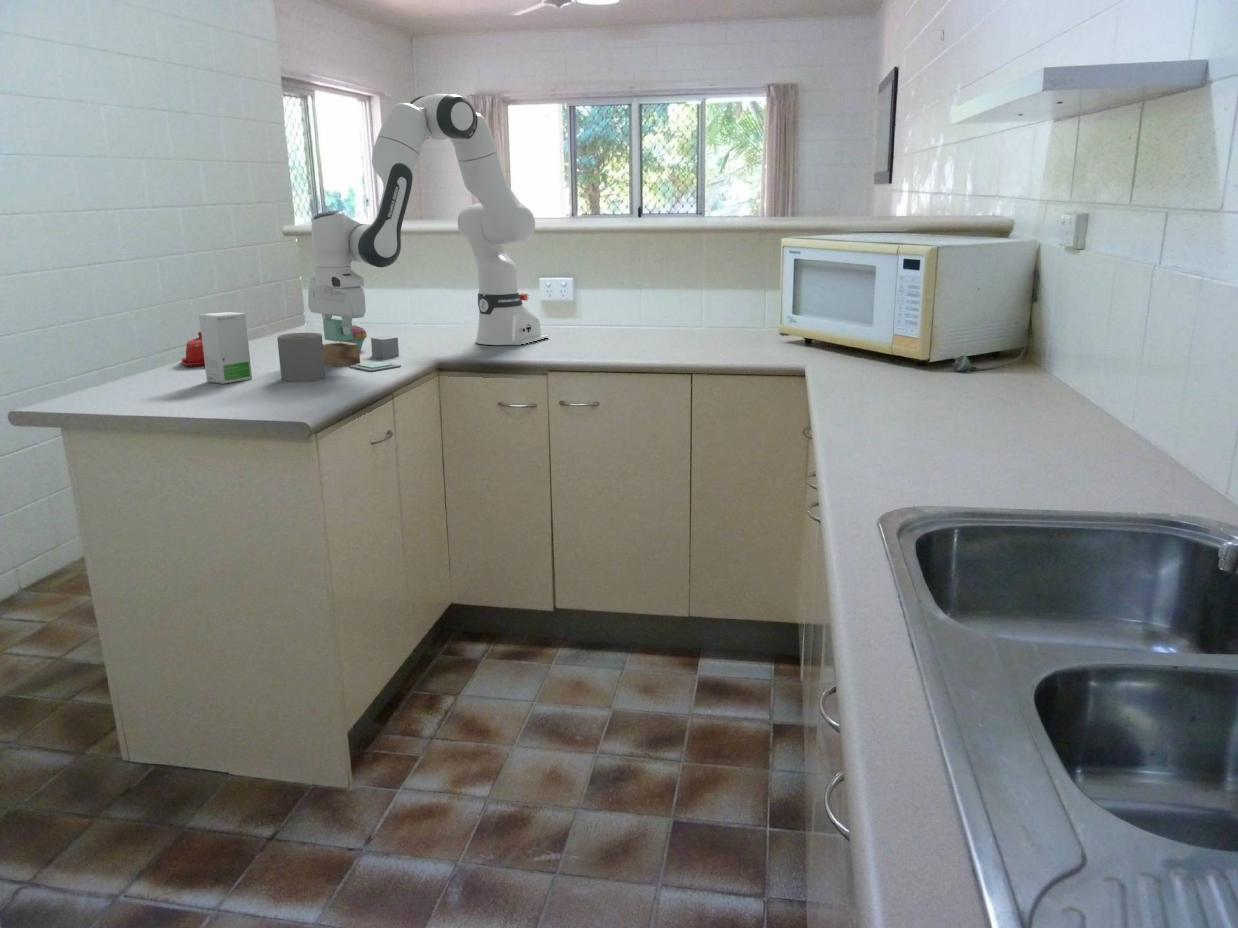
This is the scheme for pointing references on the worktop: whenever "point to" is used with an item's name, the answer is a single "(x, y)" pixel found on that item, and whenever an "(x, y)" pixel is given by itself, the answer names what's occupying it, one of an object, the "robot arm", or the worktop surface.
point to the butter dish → (194, 353)
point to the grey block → (385, 346)
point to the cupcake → (357, 336)
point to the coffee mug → (301, 357)
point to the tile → (375, 366)
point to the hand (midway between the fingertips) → (338, 333)
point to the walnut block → (341, 353)
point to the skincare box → (225, 347)
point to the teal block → (335, 330)
